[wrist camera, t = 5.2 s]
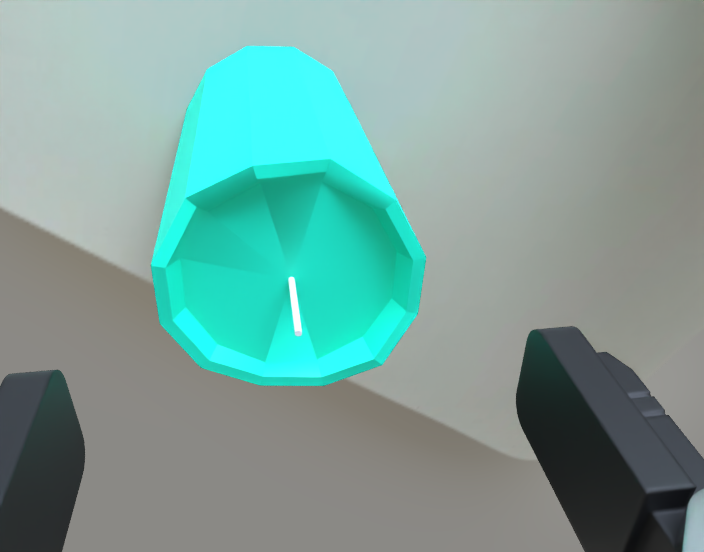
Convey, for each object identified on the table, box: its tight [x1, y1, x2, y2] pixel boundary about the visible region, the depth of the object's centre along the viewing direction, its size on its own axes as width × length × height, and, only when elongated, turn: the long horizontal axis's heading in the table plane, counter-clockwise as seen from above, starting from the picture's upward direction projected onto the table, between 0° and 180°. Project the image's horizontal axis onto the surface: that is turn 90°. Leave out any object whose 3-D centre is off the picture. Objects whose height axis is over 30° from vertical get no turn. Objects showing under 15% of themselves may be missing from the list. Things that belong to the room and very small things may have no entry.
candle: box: [151, 46, 426, 386], centre depth 17 cm, size 6×6×12 cm
